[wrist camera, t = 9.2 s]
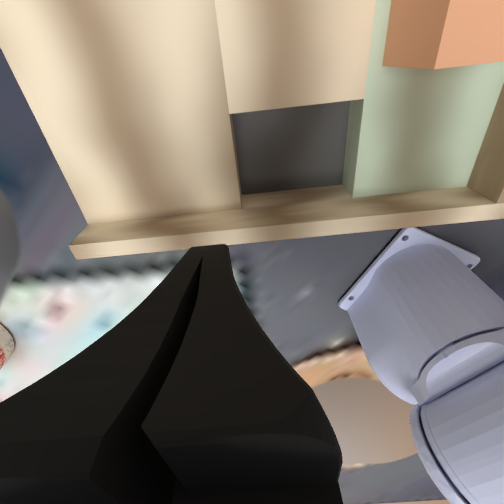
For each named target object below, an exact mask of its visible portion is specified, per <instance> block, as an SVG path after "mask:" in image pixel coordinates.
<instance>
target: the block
mask: <svg viewBox="0 0 504 504" xmlns="http://www.w3.org/2000/svg"><path fill="white" fill-rule="evenodd" d="M503 61H504V0H391V7H390V14H389V21H388V28H387V35H386V42H385V49H384V56H383V64H382V66H388V67H404V68H419V69H442V68H451V67H460V66H468V65H477V64H485V63H494V62H503Z"/></svg>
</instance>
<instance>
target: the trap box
mask: <svg viewBox="0 0 504 504" xmlns="http://www.w3.org/2000/svg"><path fill="white" fill-rule="evenodd" d="M390 7H391V0H0V47H1V49H2V51H3V53H4V55H5V57H6V59H7V61H8V63H9V66H10V68H11V70H12V72H13V74H14V76H15V78H16V80H17V82H18V84H19V86H20V88H21V90H22V92H23V94H24V96H25V98H26V100H27V102H28V104H29V106H30V108H31V110H32V112H33V114H34V116H35V118H36V120H37V122H38V124H39V126H40V128H41V130H42V132H43V134H44V136H45V138H46V140H47V142H48V144H49V146H50V148H51V150H52V152H53V154H54V156H55V158H56V160H57V162H58V164H59V166H60V168H61V170H62V172H63V174H64V176H65V178H66V180H67V182H68V184H69V186H70V188H71V190H72V192H73V194H74V196H75V198H76V200H77V202H78V204H79V206H80V208H81V210H82V212H83V214H84V216H85V219H86V221H87V223H88V225H87V226H86V227H85V228H84V230H83V231H82V232H81V233H80V234H79V235H78V236H77V237H76V238H75V239H74V240H73V241H72V242H71V244H70V245H69V247H70V249H71V251H72V252H73V254H74V256H75V258H76V259H87V258H98V257H108V256H119V255H129V254H139V253H150V252H160V251H171V250H181V249H190V248H191V247H196V246H206V245H217V244H226V245H233V244H244V243H254V242H265V241H275V240H285V239H296V238H306V237H317V236H327V235H338V234H348V233H358V232H369V231H379V230H390V229H400V228H411V227H421V226H431V225H442V224H452V223H463V222H473V221H484V220H494V219H504V61H503V62H494V63H485V64H477V65H468V66H460V67H451V68H442V69H419V68H404V67H388V66H382V64H383V56H384V49H385V42H386V35H387V28H388V21H389V14H390Z"/></svg>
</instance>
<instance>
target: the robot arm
mask: <svg viewBox="0 0 504 504" xmlns="http://www.w3.org/2000/svg"><path fill="white" fill-rule="evenodd" d="M405 235H406V237H404V238H402V237H403V236H405ZM479 262H480V258H479V257H478V256H477V255H475V254H473V253H471V252H469V251H466V250H464V249H462V248H460V247H458V246H456V245H453V244H451V243H449V242H447V241H445V240H442V239H440V238H438V237H436V236H434V235H432V234H429V233H427V232H425V231H423V230H421V229H418V228H416V227H411V228H403V229H402V230H401V231H400V232H399V233H398V235H397V236H396V237H395V238H394V239H393V240H392V241H391V243H390V244H389V245H388V246H387V247H386V248H385V249H384V251H383V252H382V253H381V254H380V255H379V256H378V258H377V259H376V260H375V261H374V262H373V263H372V264H371V266H370V267H369V268H368V269H367V270H366V271H365V272H364V274H363V275H362V276H361V277H360V278H359V279H358V281H357V282H356V283H355V284H354V285H353V286H352V287H351V289H350V290H349V291H348V292H347V293H346V294H345V296H344V297H343V298H342V299H341V300H340V301H339V307H340V308H341V309H344V310H347V311H348V314H349V316H350V319H351V321H352V323H353V326H354V328H355V331H356V333H357V336H358V338H359V340H360V343H361V345H362V348H363V350H364V353H365V355H366V358H367V360H368V362H369V364H370V366H371V368H372V370H373V371H374V373H375V374H376V375H377V377H378V378H379V379H380V381H381V382H382V383H383V384H384V385H385V386H386V387H387V388H388V389H389V390H390V391H391V392H392V393H393V394H395V395H396V396H397V397H399V398H401V399H402V400H404V401H406V402H408V403H410V404H414V405H415V406H413V408H412V410H411V413H410V425H411V431H412V436H413V440H414V444H415V447H416V450H417V452H418V455H419V457H420V459H421V461H422V463H423V465H424V467H425V469H426V470H427V472H428V474H429V475H430V477H431V479H432V480H433V482H434V483H435V484H436V486H437V487H438V489H439V490H440V491H441V493H442V494H443V495H444V496H445V497H446V499H447V500H448V501H449V502H450V503H451V504H504V301H503V300H502V299H501V298H500V297H499V296H498V295H497V294H496V293H495V292H494V291H493V290H492V289H490V288H489V287H488V286H487V285H486V284H485V283H484V282H483V281H482V280H481V279H480V278H479V277H478V276H477V275H475V274H474V273H473V272H472V271H471V269H473V268H474V267H475V266H476V265H477V264H478V263H479ZM351 296H352V297H351ZM341 466H342V453H341V449H340V446H339V443H338V441H337V438H336V435H335V433H334V431H333V428H332V426H331V424H330V422H329V420H328V418H327V416H326V414H325V412H324V410H323V408H322V406H321V404H320V403H319V401H318V399H317V397H316V395H315V393H314V391H313V390H312V388H311V387H310V386H309V385H308V384H307V383H306V382H305V381H304V380H303V379H302V378H301V377H300V375H299V374H298V373H297V372H296V371H295V370H294V369H293V368H292V366H291V365H290V364H289V363H288V362H287V361H286V359H285V358H284V357H283V356H282V355H281V353H280V352H279V351H278V350H277V349H276V347H275V346H274V345H273V343H272V342H271V340H270V339H269V338H268V336H267V335H266V334H265V332H264V331H263V330H262V328H261V327H260V325H259V324H258V322H257V321H256V319H255V318H254V316H253V314H252V313H251V311H250V309H249V308H248V306H247V304H246V302H245V300H244V298H243V297H242V295H241V292H240V290H239V288H238V286H237V284H236V281H235V279H234V276H233V271H232V265H231V260H230V254H229V248H228V246H227V245H226V244H217V245H206V246H196V247H191V248H190V249H189V250H188V251H187V253H186V254H185V255H184V256H183V257H182V258H181V260H180V261H179V262H178V263H177V265H176V266H175V267H174V268H173V269H172V271H171V272H170V273H169V274H168V275H167V276H166V277H165V279H164V280H163V281H162V282H161V283H160V284H159V285H158V286H157V287H156V288H155V289H154V290H153V291H152V292H151V294H150V295H149V296H148V297H147V298H146V299H145V300H144V301H143V302H142V303H141V304H140V305H139V306H138V307H137V308H135V309H134V310H133V311H132V312H131V313H130V314H129V315H128V316H126V317H125V318H124V319H123V320H122V321H121V322H120V323H118V324H117V325H116V326H115V327H114V328H112V329H111V330H110V331H108V332H107V333H106V334H104V335H103V336H102V337H101V338H99V339H98V340H97V341H95V342H94V343H93V344H91V345H90V346H89V347H87V348H86V349H85V350H83V351H82V352H81V353H79V354H78V355H76V356H75V357H73V358H72V359H70V360H69V361H67V362H66V363H65V364H63V365H61V366H60V367H58V368H57V369H55V370H54V371H52V372H51V373H49V374H48V375H46V376H45V377H43V378H41V379H40V380H38V381H36V382H35V383H33V384H32V385H30V386H28V387H27V388H25V389H23V390H21V391H20V392H18V393H16V394H15V395H13V396H11V397H9V398H8V399H6V400H4V401H3V402H1V403H0V504H343V501H342V497H341V492H340V488H339V483H338V479H339V475H340V470H341Z"/></svg>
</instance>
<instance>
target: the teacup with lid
mask: <svg viewBox="0 0 504 504" xmlns="http://www.w3.org/2000/svg"><path fill="white" fill-rule="evenodd" d="M13 351H14V341H13V338H12V337H11V335H10V334H9V332H8V331H7V330H6V329H5V328H4V327H3V326H2V325H1V324H0V369H1V368H2V366H3V365H4V364H5V362H6V361H7V360H8V359H9V357H10V356H11V355H12V353H13Z"/></svg>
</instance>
